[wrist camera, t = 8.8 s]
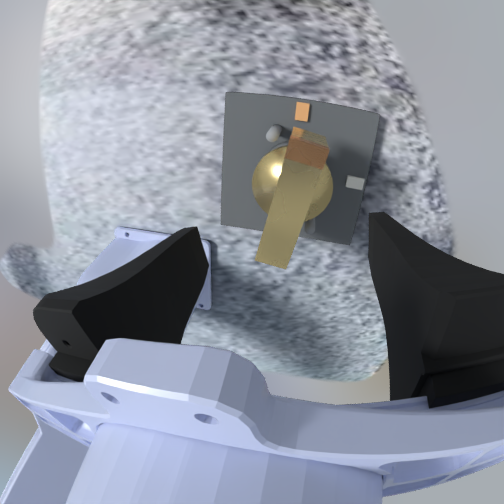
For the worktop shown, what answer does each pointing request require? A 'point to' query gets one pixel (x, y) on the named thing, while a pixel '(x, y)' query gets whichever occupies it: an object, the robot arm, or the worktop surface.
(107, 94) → the worktop surface
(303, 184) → the lever handle
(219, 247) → the worktop surface
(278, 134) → the post base
